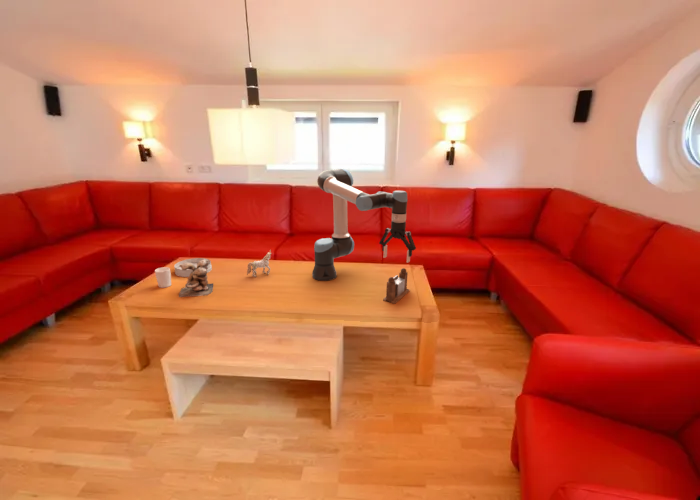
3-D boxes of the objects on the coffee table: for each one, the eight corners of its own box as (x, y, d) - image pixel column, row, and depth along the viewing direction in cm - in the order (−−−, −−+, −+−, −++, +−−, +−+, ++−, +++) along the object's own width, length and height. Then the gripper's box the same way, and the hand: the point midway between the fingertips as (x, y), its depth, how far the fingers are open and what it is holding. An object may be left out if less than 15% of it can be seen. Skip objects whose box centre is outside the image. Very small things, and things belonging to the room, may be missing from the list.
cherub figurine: (177, 298, 194) (172, 267, 188) (182, 285, 210) (178, 256, 205) (212, 295, 198) (208, 264, 193) (214, 282, 215) (211, 254, 209)
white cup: (167, 281, 215) (164, 266, 212) (175, 284, 211) (172, 268, 208) (154, 286, 209) (151, 270, 206) (162, 289, 205) (160, 273, 202)
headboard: (383, 300, 193) (384, 277, 189) (398, 288, 208) (399, 266, 204) (395, 303, 189) (396, 279, 185) (409, 290, 205) (410, 268, 200)
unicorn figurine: (278, 271, 232) (277, 252, 228) (252, 280, 218) (251, 259, 214) (272, 268, 236) (270, 249, 232) (246, 277, 223) (244, 256, 218)
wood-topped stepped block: (388, 295, 196) (389, 280, 193) (396, 290, 203) (396, 275, 200) (397, 298, 194) (398, 282, 191) (404, 292, 201) (405, 276, 198)
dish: (217, 271, 233) (216, 263, 231) (182, 280, 218) (181, 272, 217) (203, 262, 248) (202, 255, 246) (169, 270, 233) (168, 263, 232)
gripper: (374, 219, 190) (372, 256, 196) (418, 226, 177) (415, 266, 184) (380, 216, 196) (379, 253, 202) (424, 222, 183) (420, 261, 190)
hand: (396, 259), depth 193 cm, fingers open, 13 cm apart
